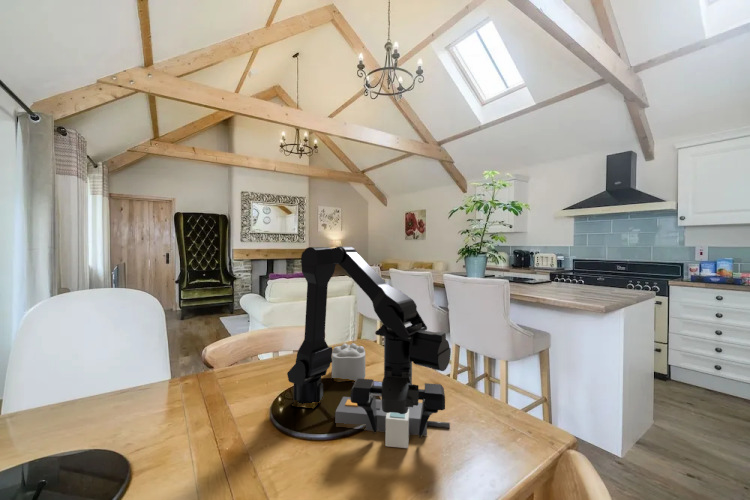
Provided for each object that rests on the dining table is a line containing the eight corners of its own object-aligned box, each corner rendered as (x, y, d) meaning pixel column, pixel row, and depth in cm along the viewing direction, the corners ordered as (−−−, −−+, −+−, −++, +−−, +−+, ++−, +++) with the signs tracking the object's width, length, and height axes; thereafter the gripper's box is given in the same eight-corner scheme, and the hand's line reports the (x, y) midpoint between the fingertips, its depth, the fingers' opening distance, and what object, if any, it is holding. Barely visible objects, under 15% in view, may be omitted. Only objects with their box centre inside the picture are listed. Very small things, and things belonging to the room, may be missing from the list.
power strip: (335, 427, 70) (335, 410, 70) (343, 410, 77) (343, 395, 77) (451, 438, 67) (451, 420, 66) (448, 420, 73) (448, 403, 73)
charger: (385, 446, 63) (385, 417, 63) (388, 427, 70) (389, 401, 70) (408, 448, 63) (408, 419, 63) (409, 429, 69) (409, 403, 69)
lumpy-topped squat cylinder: (330, 382, 93) (330, 353, 93) (333, 366, 106) (333, 340, 106) (365, 382, 94) (366, 352, 94) (364, 365, 107) (364, 339, 107)
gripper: (344, 371, 59) (343, 455, 59) (447, 378, 56) (446, 466, 56) (356, 351, 70) (356, 422, 70) (443, 356, 67) (442, 430, 67)
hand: (397, 434), depth 65 cm, fingers open, 9 cm apart
